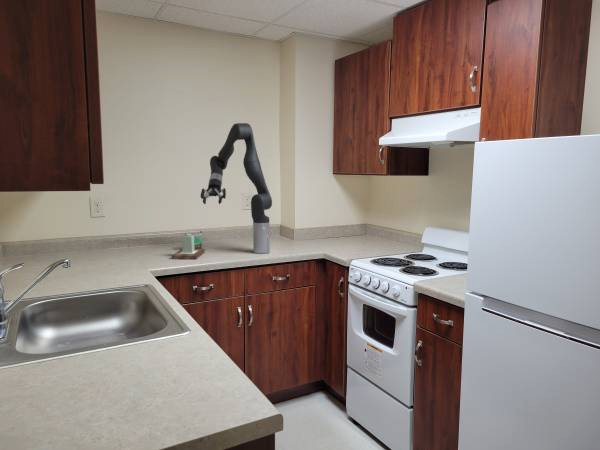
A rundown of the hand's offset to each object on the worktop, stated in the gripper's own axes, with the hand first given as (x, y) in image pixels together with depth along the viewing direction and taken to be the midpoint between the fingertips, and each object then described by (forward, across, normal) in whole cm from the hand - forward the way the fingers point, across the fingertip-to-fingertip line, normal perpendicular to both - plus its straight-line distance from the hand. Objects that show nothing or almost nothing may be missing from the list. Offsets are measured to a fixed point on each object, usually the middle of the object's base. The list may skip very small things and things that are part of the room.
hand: (211, 203), depth 257 cm
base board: (+30, -10, +8) cm, 33 cm away
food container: (+18, -11, +21) cm, 30 cm away
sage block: (+29, -10, +7) cm, 31 cm away
